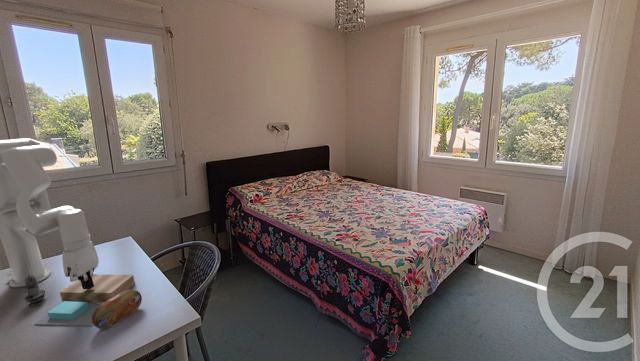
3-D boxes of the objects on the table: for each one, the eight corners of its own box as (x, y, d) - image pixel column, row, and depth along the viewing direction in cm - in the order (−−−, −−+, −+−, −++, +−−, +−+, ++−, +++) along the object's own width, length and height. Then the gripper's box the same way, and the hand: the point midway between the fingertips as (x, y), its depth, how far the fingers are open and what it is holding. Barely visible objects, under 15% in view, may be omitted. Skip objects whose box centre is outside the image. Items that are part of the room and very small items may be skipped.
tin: (98, 335, 91) (92, 312, 89) (92, 332, 93) (87, 309, 91) (144, 306, 105) (140, 286, 103) (138, 304, 106) (134, 283, 104)
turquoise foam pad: (64, 301, 104) (65, 306, 105) (47, 312, 98) (49, 318, 99) (87, 302, 103) (88, 307, 104) (71, 313, 97) (73, 319, 98)
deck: (62, 301, 108) (59, 292, 107) (89, 282, 120) (86, 274, 119) (112, 302, 107) (110, 293, 106) (134, 283, 119) (133, 274, 118)
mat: (34, 324, 97) (34, 323, 96) (64, 303, 107) (64, 302, 107) (91, 326, 95) (90, 325, 95) (115, 304, 106) (115, 303, 106)
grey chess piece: (47, 295, 112) (39, 268, 109) (48, 302, 108) (39, 274, 105) (26, 303, 108) (17, 274, 105) (26, 310, 104) (16, 281, 101)
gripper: (85, 234, 111) (95, 276, 116) (47, 253, 97) (60, 300, 101) (103, 234, 111) (113, 276, 115) (67, 253, 96) (80, 301, 101)
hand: (88, 287), depth 108 cm, fingers closed
